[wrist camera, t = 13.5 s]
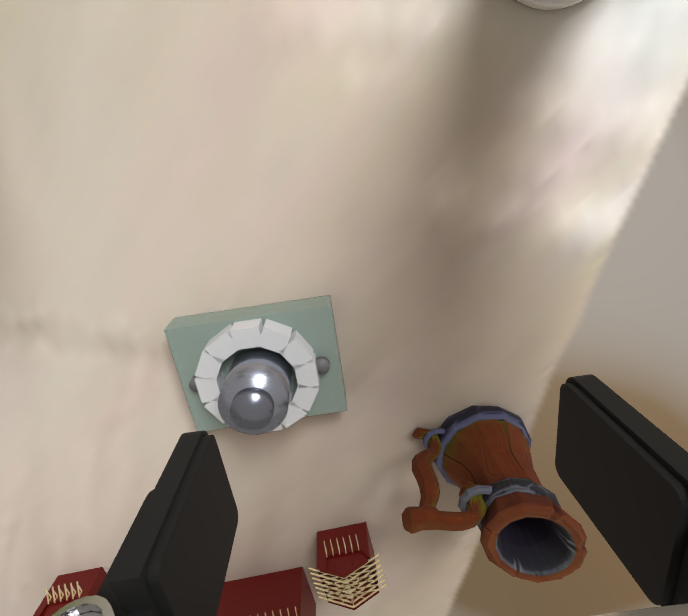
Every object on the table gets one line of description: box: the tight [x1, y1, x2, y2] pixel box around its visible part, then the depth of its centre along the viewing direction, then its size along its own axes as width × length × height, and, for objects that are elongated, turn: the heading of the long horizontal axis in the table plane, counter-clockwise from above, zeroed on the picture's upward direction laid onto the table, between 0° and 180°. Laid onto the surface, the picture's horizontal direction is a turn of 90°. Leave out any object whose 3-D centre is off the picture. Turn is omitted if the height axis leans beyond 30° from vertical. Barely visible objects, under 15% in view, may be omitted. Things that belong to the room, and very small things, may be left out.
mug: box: [402, 406, 587, 582], centre depth 42 cm, size 18×12×15 cm, turn 73°
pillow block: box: [164, 295, 347, 432], centre depth 41 cm, size 16×12×5 cm
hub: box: [218, 347, 292, 435], centre depth 37 cm, size 6×6×7 cm
